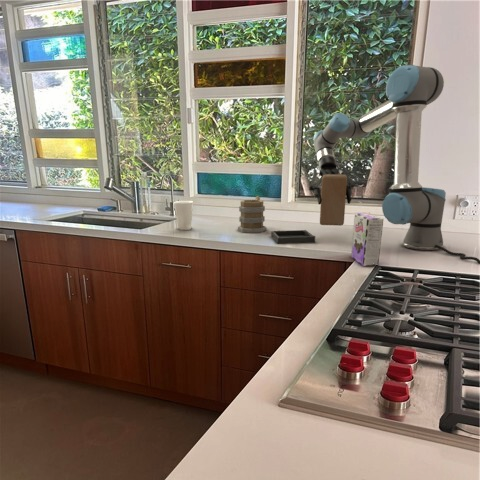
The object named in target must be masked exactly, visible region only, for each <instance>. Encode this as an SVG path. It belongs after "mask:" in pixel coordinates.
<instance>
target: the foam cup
mask: <svg viewBox="0 0 480 480" xmlns="http://www.w3.org/2000/svg"><path fill="white" fill-rule="evenodd" d="M173 207H174V211H175V212H174V213H175V217H176V223H177V224H176V225H177V228H178V230H179V231H180V230H181V231H189V230H191V229H192V223H193V222H192V221H193V213H194V212H193V210H194V201H193V200H176V201H173Z"/></svg>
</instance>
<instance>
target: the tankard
mask: <svg viewBox="0 0 480 480" xmlns="http://www.w3.org/2000/svg"><path fill="white" fill-rule="evenodd" d="M265 211H266V206H265V205H264V200H261V198H260V196H259V195H256V197H255V199H243V200H240V205H239V206H238V212H240V216H238V217H239V218H238V222H240V225H239V226H238V227H237V231H239V232H241V233H249V234H251V233H252V234H255V233H256V234H257V233H263V232H265V231H266V230H267V226H266V225H264V222H265V221H266V220H265V217H266V216H265V215H264V212H265Z"/></svg>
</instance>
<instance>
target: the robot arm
mask: <svg viewBox="0 0 480 480" xmlns="http://www.w3.org/2000/svg"><path fill="white" fill-rule="evenodd" d="M444 84H445V80H444V76H443V74H442V73H441V71H439V70H438V69H436V68H434V67H431V66H420V65H416V64H415V65H414V64H407V65H406V64H405V65H404V64H403V65H400V66H398V67H397V68H395V69H394V70H393V71H392V73H391V75H390V76H389V77H388V78H387V82H386V86H385V94H386V97H387V99H388V100H386V101H385V102H383V103H381V104H379V105H378V106H377V107H375V108H373V109H371V110H369V111H368V112H366V113H364V114H362V115H361V116H359V117H357V118H350V117H349V116H348V115H346V114H345V113H343V112H337V113H335V114H334V115H333V117H332V118H331V119H330V120H329V122H328V123H327V124H326V126H325V128H324V129H321V130H318V131H317V132H315V134H314V135H313V146H314V150H315V156H316V160H317V166H318V170H317V169H316V168H314V169H313V170H312V171H313V172H312V179H311V182H310V184H309V188H308V191H312V193H313V194H314V197H315V198H316V199H317V203H318V205H321V201H322V199H321V190H320V188H321V186H322V177H323V175H325V174H337V175H346V176H347V186H346V201H347V204H348V205H349V204H351V201H352V195H353V192H352V190H354V188H355V186H356V185H355V183H354V182H353V180H352V179H351V177H350V176H349V175H348V174H347V172H346V169H345V168H342V169H340V170H339V169H338V166H337V161H336V157H335V153H334V152H335V151H334V145H335V144H336V143H337V142H338V141H339V140H340V139H343V138H344V139H363V138H367V137H368V136H370V134H371V133H372V132H373V131H374V130H376V129H378V128H380V127H382V126H384V125H386V124H388V123H389V122H390V123H391V121H393V120H395V139H394V165H393V166H394V167H393V168H394V169H393V183H392V185H390V187H389V188H388V189H389V190H388V194H387V195H386V196H385V198H384V199H383V201H382V206H381V208H382V209H381V210H382V214H383V216H384V218H385V219H386V220H387V221H388V222H389V223H390V224H393V225H404V226H405V225H407V224H409V228H408V229H407V231H406V234H405V236H404V238H403V241H402V246H403V247H404V248H406V249H411V250H415V251H416V250H417V251H443V252H445V253H446V254H447V255H448V254H449V255H450V256H454V257H455V256H456V257H457V256H458V257H459V258H460V260H467V261H468V260H472V261H475V262H476V263H477V264H478V265H480V259H479V258H477V257H476V256H467V255H466V254H465V253H463V252H453V251H450V250H448V249H447V248H445V247H444V238H443V234H442V224H443V223H442V222H443V216H444V212H445V211H444V209H445V204H446V200H447V199H446V194H447V192H446V191H445V190H444V189H441V188H434V187H423V185H421V184H420V182H419V172H420V169H419V168H420V154H421V153H420V151H421V133H422V116H423V115H422V114H423V113H422V112H424V110H425V109H426V108H427V107H428V105H430V104H432V103H433V102H435V101H436V100H437V99H438V98H439V97H440V96H441V94H442V92H443V90H444V86H445V85H444ZM318 176H320V178H319V179H318V181H317V182H316V183H315V181H316V178H317V177H318ZM314 184H315V185H314Z"/></svg>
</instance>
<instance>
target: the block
mask: <svg viewBox="0 0 480 480" xmlns="http://www.w3.org/2000/svg"><path fill="white" fill-rule="evenodd" d="M346 186H347V176H346V175H340V174H339V175H337V174H325V175H323V177H322V183H321V187H320V188H321V190H320V194H321V199H322V201H321V204H320V207H319V209H320V211H319V225H321V226H340V227H341V226H344V224H345V214H346V213H345V211H346V201H347V198H346Z"/></svg>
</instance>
